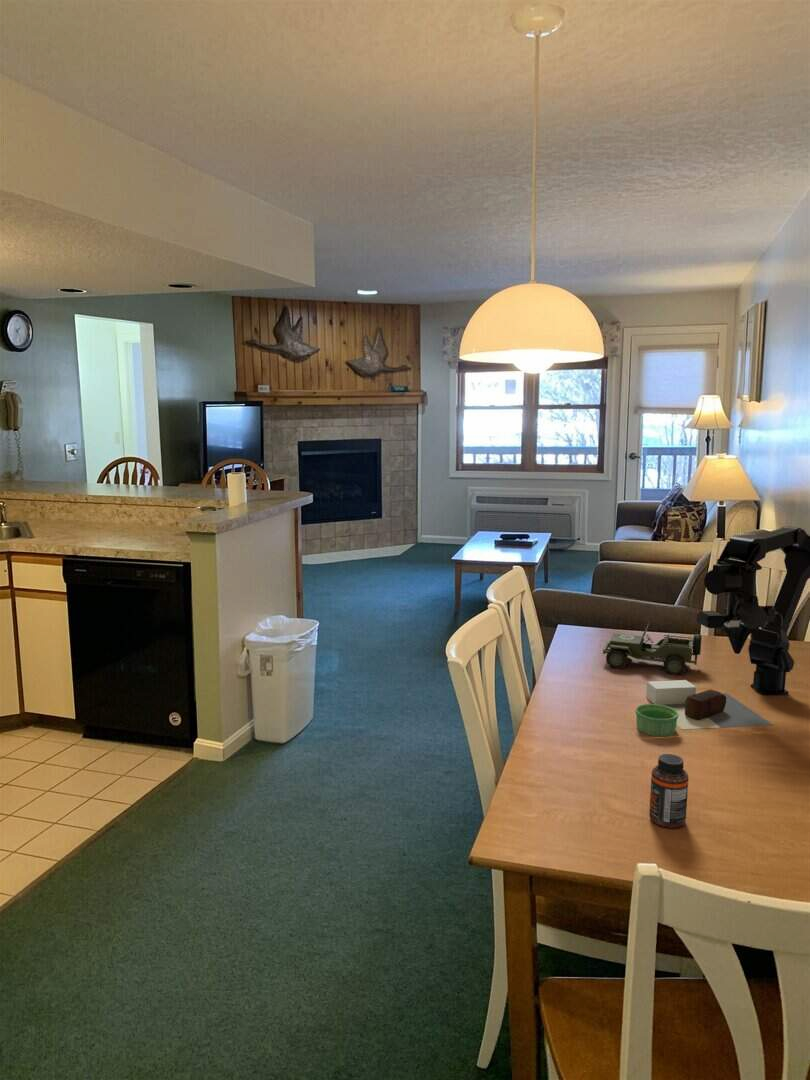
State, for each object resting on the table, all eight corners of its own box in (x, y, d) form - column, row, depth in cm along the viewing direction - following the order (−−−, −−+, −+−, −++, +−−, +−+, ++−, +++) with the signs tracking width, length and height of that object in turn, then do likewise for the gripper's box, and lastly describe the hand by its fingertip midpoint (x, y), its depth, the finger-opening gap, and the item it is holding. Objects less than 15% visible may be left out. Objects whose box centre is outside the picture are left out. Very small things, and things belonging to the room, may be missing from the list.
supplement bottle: (643, 812, 136) (646, 751, 134) (676, 811, 136) (680, 750, 135) (657, 830, 130) (661, 766, 128) (691, 829, 130) (696, 765, 129)
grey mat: (726, 693, 193) (726, 692, 193) (773, 725, 174) (773, 724, 174) (643, 697, 191) (643, 696, 190) (681, 730, 171) (681, 729, 171)
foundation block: (685, 695, 191) (686, 680, 191) (695, 703, 186) (696, 687, 186) (646, 697, 190) (647, 681, 189) (655, 704, 185) (656, 688, 185)
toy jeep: (606, 655, 224) (608, 618, 223) (699, 665, 215) (702, 627, 214) (601, 667, 213) (602, 628, 212) (698, 679, 204) (701, 638, 202)
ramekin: (680, 726, 173) (681, 708, 172) (673, 741, 165) (674, 722, 165) (639, 719, 177) (640, 700, 177) (630, 733, 169) (631, 714, 169)
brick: (699, 721, 175) (701, 701, 174) (683, 716, 178) (685, 696, 177) (726, 711, 181) (727, 692, 181) (710, 706, 184) (712, 687, 184)
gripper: (722, 598, 175) (717, 665, 177) (799, 596, 177) (793, 662, 179) (697, 587, 186) (693, 650, 188) (771, 585, 188) (766, 648, 190)
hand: (736, 653), depth 186 cm, fingers closed
